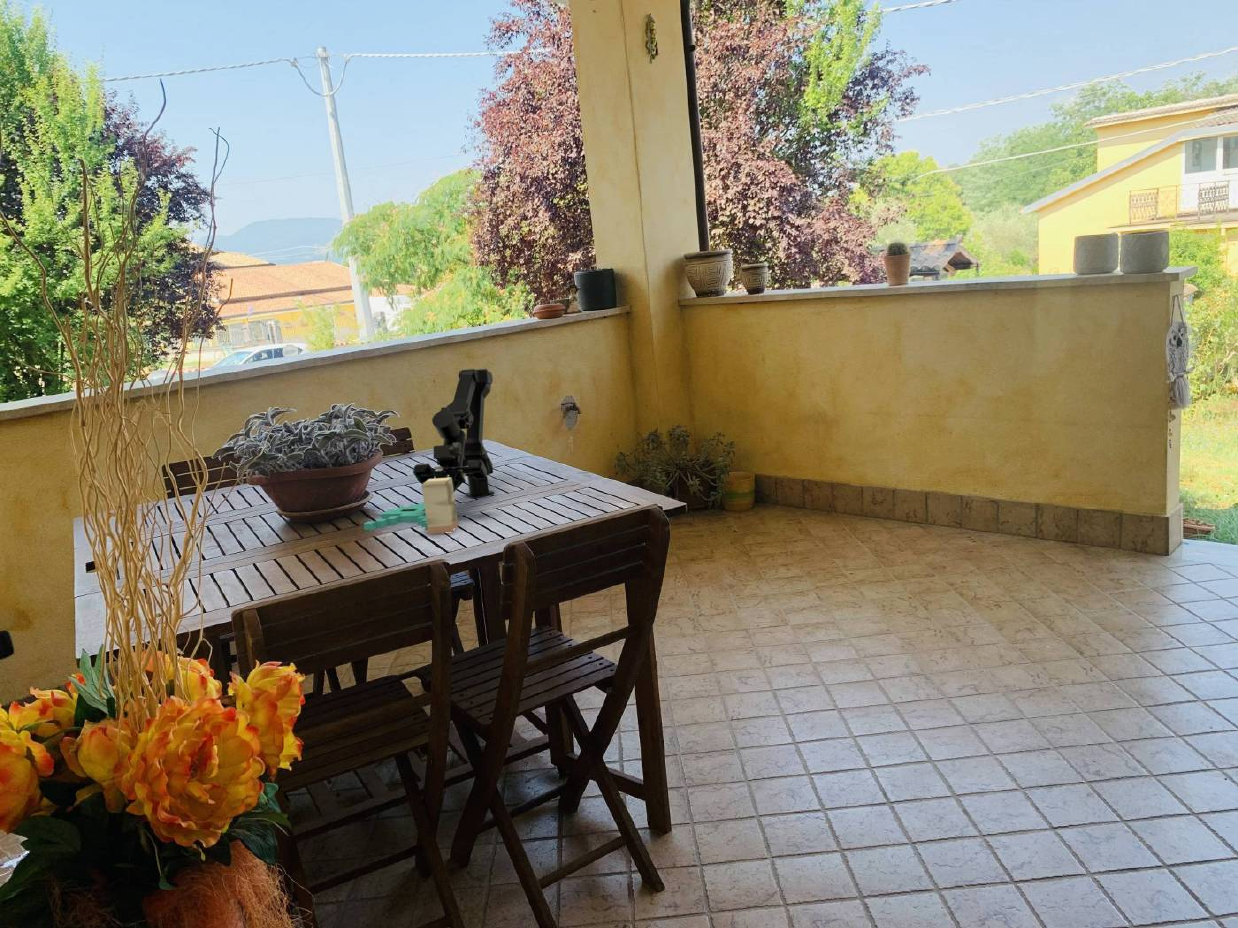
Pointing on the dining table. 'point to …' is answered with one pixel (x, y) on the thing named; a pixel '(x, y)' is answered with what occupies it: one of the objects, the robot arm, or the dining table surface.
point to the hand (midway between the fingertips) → (446, 499)
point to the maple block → (439, 505)
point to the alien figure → (400, 517)
